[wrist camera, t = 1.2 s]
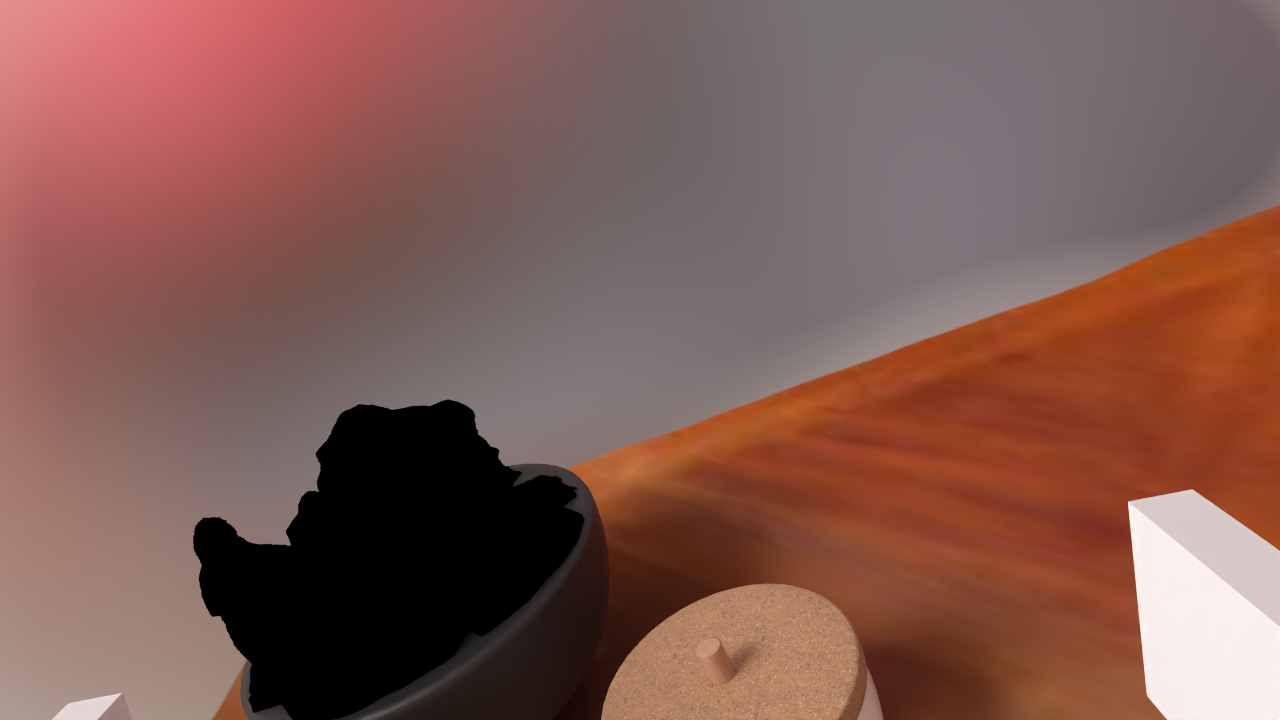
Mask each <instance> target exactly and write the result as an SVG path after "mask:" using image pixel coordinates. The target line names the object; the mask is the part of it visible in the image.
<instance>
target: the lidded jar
mask: <svg viewBox="0 0 1280 720" xmlns="http://www.w3.org/2000/svg"><path fill="white" fill-rule="evenodd" d="M601 720H883V715H882V710H881V706H880V702H879V697H878V693H877V690H876V687H875V685H874V682H873V679H872V677H871V674H870V672H869V669H868V667H867V665H866V660H865V655H864V651H863V648H862V645H861V643H860V641H859V638H858V636H857V634H856V631H855V629H854V627H853V625H852V623H851V622H850V620H849V619H848V617H847V616H846V615H845V613H844V612H843V611H842V610H841V609H840V608H839V607H837V606H836V605H835V604H834V603H833V602H832V601H830V600H828V599H826V598H825V597H823V596H821V595H820V594H818V593H815V592H812V591H809V590H807V589H804V588H800V587H796V586H791V585H786V584H754V585H747V586H742V587H737V588H732V589H729V590H725V591H722V592H718V593H715V594H713V595H710V596H708V597H705V598H703V599H701V600H698V601H696V602H694V603H692V604H690V605H688V606H686V607H685V608H683V609H681V610H679V611H678V612H676V613H675V614H673V615H672V616H670V617H669V618H667V619H666V620H665V621H663V622H662V623H661V624H659V625H658V626H657V627H655V628H654V629H653V630H652V631H651V632H650V633H649V634H648V635H647V636H646V637H644V638H643V639H642V640H641V641H640V642H639V643H638V645H637V646H636V647H635V648H634V649H633V650H632V651H631V653H630V654H629V655H628V656H627V657H626V659H625V660H624V662H623V663H622V665H621V667H620V668H619V670H618V671H617V673H616V675H615V677H614V679H613V681H612V683H611V685H610V686H609V689H608V692H607V695H606V699H605V702H604V705H603V711H602V717H601Z"/></svg>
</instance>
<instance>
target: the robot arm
mask: <svg viewBox="0 0 1280 720" xmlns="http://www.w3.org/2000/svg"><path fill="white" fill-rule="evenodd" d="M1128 507H1129V517H1130V527H1131V537H1132V548H1133V558H1134V568H1135V578H1136V589H1137V599H1138V609H1139V619H1140V630H1141V640H1142V650H1143V660H1144V671H1145V681H1146V691H1147V696H1148V697H1149V699H1150V700H1151V701H1152V702H1153V703H1154V705H1155V706H1156V707H1157V708H1158V709H1159V711H1160V712H1161V713H1162V714H1163V715H1164V717H1165V718H1166V719H1167V720H1280V551H1279V550H1278V549H1277V548H1275V547H1274V546H1272V545H1271V544H1269V543H1268V542H1267V541H1265V540H1264V539H1262V538H1261V537H1259V536H1258V535H1257V534H1255V533H1254V532H1252V531H1251V530H1249V529H1248V528H1247V527H1245V526H1244V525H1242V524H1241V523H1240V522H1238V521H1237V520H1235V519H1234V518H1232V517H1231V516H1230V515H1228V514H1227V513H1225V512H1224V511H1222V510H1221V509H1220V508H1218V507H1217V506H1215V505H1214V504H1212V503H1211V502H1210V501H1208V500H1207V499H1205V498H1204V497H1202V496H1201V495H1200V494H1198V493H1197V492H1195V491H1194V490H1187V491H1181V492H1176V493H1171V494H1166V495H1160V496H1155V497H1150V498H1145V499H1139V500H1134V501H1129V502H1128ZM52 720H133V718H132V716H131V713H130V711H129V709H128V706H127V704H126V701H125V699H124V696H123V694H122V693H120V694H115V695H110V696H104V697H100V698H94V699H89V700H83V701H78V702H73V703H68V704H67V705H66V706H65V707H64V708H63V709H62V710H61V711H60V712H59V713H58V714H57V715H56V716H55V717H54V718H53V719H52Z"/></svg>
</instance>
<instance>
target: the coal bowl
mask: <svg viewBox="0 0 1280 720" xmlns="http://www.w3.org/2000/svg"><path fill="white" fill-rule="evenodd" d="M498 455H499V450H498V449H497V448H494V447H491V446H490V445H489V444H488V443H487V441H486V440H485V439H484V438H482V437H481V436H479V435H478V430H477V429H476V424H475V414H474V412H473V410H472V409H470V408H469V407H468V406H466V405H464V404H461V403H459V402H456V401H452V400H444V401H441V402H439V403H436V404H434V405H432V406H423V405H422V406H410V407H406V408H402V409H396V410H390V409H388V408H384V407H379V406H375V405H361V404H359V405H357V406H355V407H353V408H351V409H349V410H346V411H345V412H342V413H341V414H340V416H339V417H338V419H337V422H336V424H335V425H334V427H333V429H332V431H331V435H330V436H329V438H328V439H327V441H326V442H325V443H324V444H323V445H322V446H321V447H320V448H319V449H318V451H317V452H316V457H317V458H318V461H319V463H320V465H321V467H320V468H321V470H320V474H319V477H318V480H317V486H318V490H319V492H316V491H308V492H306V493H305V494H304V495H303V496H302V497H301V500H300V502H299V504H298V514H297V516H296V517H295V518H294V519H293V521H292V522H291V524H290V526H289V527H288V529H287V530H286V534H287V536H288V538H289V540H290V544H291V546H287V545H272V544H261V545H260V544H253V543H250V542H248V541H246V540H245V539H244V538H241V537H239V536H238V535H237V531H236V530H235V529H234V528H233V527H232V526H231V525H230V524H228V523H226V522H227V521H226V520H223V519H220V517H218V518H216V517H215V518H214V517H211V518H203V519H202V520H201V521H200V522H198V524H197V525H196V526H195V531H194V533H195V534H194V536H193V541H194V543H193V544H194V551H195V553H196V555H197V556H198V558H199V560H200V563H201V565H202V567H201V570H200V574H199V582H200V588H201V591H202V592H201V593H202V598H203V600H204V603H205V605H206V607H207V609H208V611H209V613H210V615H211V616H213V617H215V616H221V618H222V621H224V623H225V624H226V628H227V631H228V633H229V635H230V638H231V639H232V641H233V643H234V646H235V647H236V648H237V649H238V651H240V653H241V654H242V655H243V656H244V657H245V658H246V659H247V663H246V665H245V668H244V671H243V676H242V680H241V690H240V693H241V702H242V705H243V708H244V711H245V714H246V716H247V718H248V720H553V719H554V717H555V716H556V715H557V714H558V713H559V712H560V710H561V709H562V708H563V707H564V706H565V704H566V703H567V701H568V700H569V699H570V697H571V696H572V694H573V693H574V691H575V690H576V688H577V686H578V685H579V683H580V682H581V680H582V678H583V676H584V675H585V673H586V671H587V669H588V667H589V664H590V662H591V660H592V657H593V655H594V652H595V650H596V648H597V645H598V642H599V639H600V635H601V632H602V628H603V624H604V620H605V615H606V609H607V602H608V593H609V562H608V552H607V543H606V538H605V533H604V528H603V525H602V522H601V518H600V515H599V511H598V508H597V506H596V503H595V501H594V498H593V496H592V494H591V492H590V490H589V488H588V487H587V486H586V484H585V483H584V482H583V481H582V480H581V479H580V478H579V477H578V476H576V475H575V474H574V473H572V472H570V471H568V470H566V469H564V468H561V467H557V466H553V465H547V464H521V465H512V466H504V465H503V464H502V463H501V461H500V460H499V458H498Z"/></svg>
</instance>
